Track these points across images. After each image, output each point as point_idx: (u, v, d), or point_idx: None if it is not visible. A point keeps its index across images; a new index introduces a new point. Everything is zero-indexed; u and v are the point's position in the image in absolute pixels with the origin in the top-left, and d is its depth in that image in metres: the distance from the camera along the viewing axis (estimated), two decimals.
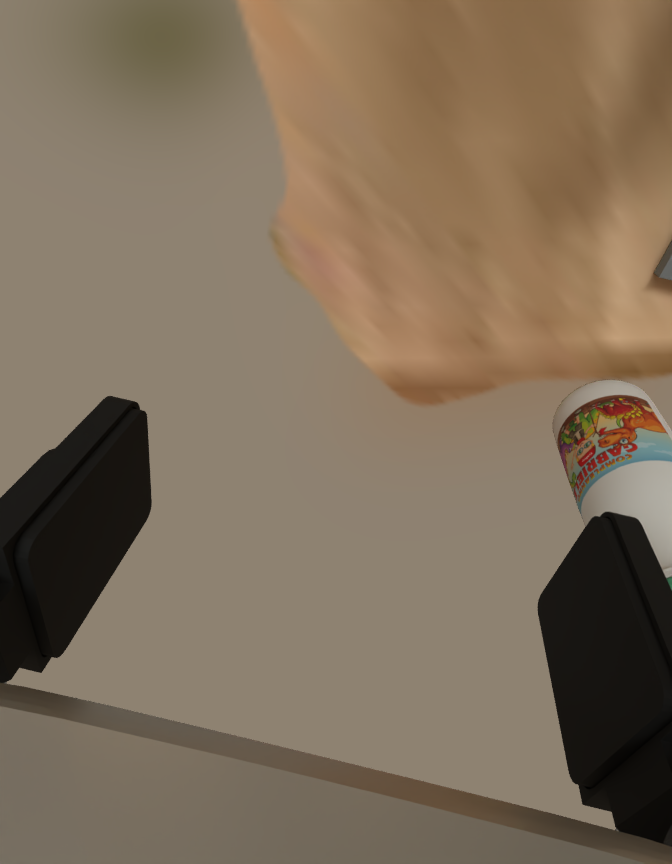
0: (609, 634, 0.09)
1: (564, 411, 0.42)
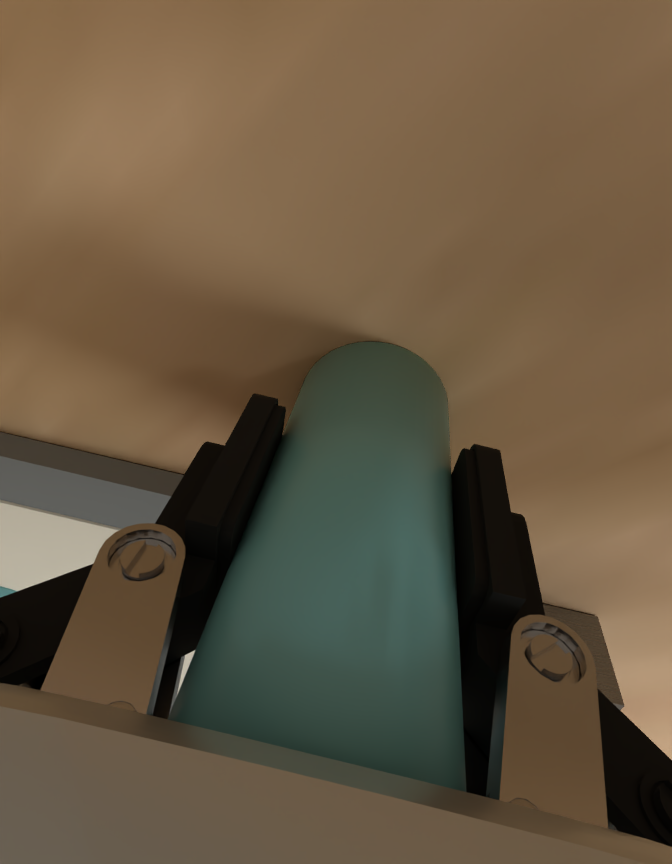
0: (457, 545, 0.10)
1: None
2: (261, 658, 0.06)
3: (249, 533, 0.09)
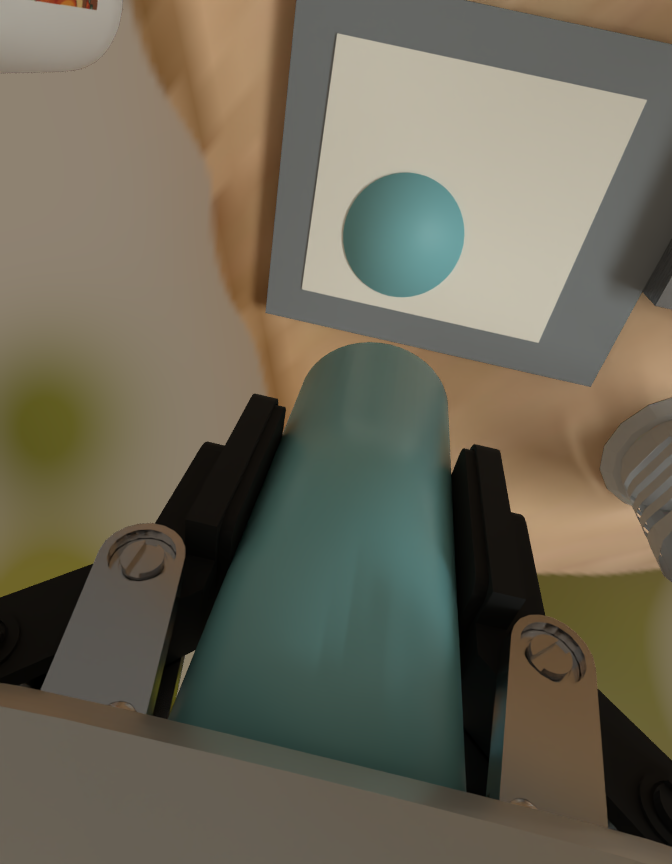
0: (457, 545, 0.10)
1: None
2: (259, 661, 0.06)
3: (248, 535, 0.09)
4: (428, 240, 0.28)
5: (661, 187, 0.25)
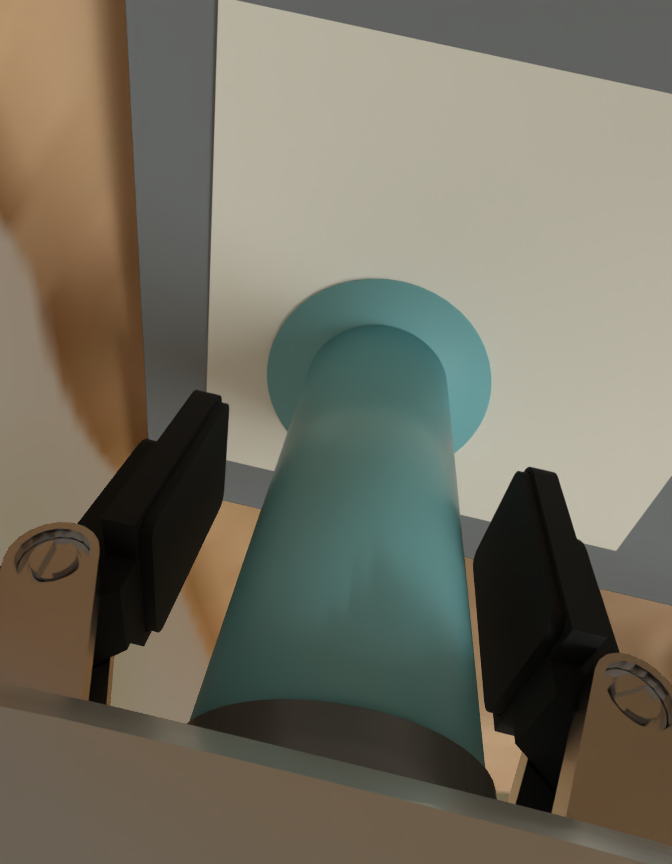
0: (519, 574, 0.09)
1: None
2: (298, 597, 0.07)
3: (273, 498, 0.09)
4: None
5: None
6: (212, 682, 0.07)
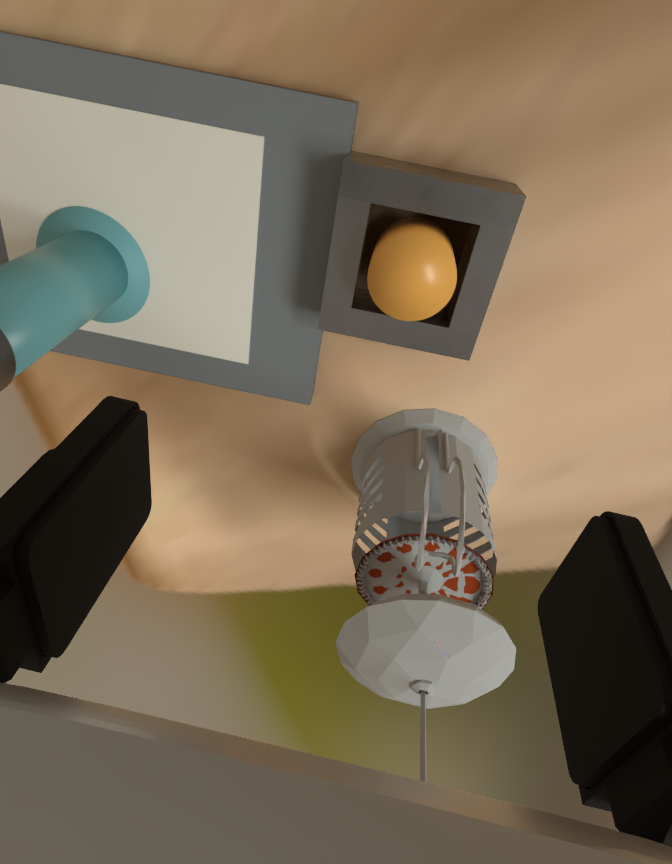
0: (609, 634, 0.09)
1: None
2: None
3: None
4: None
5: (306, 217, 0.26)
6: None
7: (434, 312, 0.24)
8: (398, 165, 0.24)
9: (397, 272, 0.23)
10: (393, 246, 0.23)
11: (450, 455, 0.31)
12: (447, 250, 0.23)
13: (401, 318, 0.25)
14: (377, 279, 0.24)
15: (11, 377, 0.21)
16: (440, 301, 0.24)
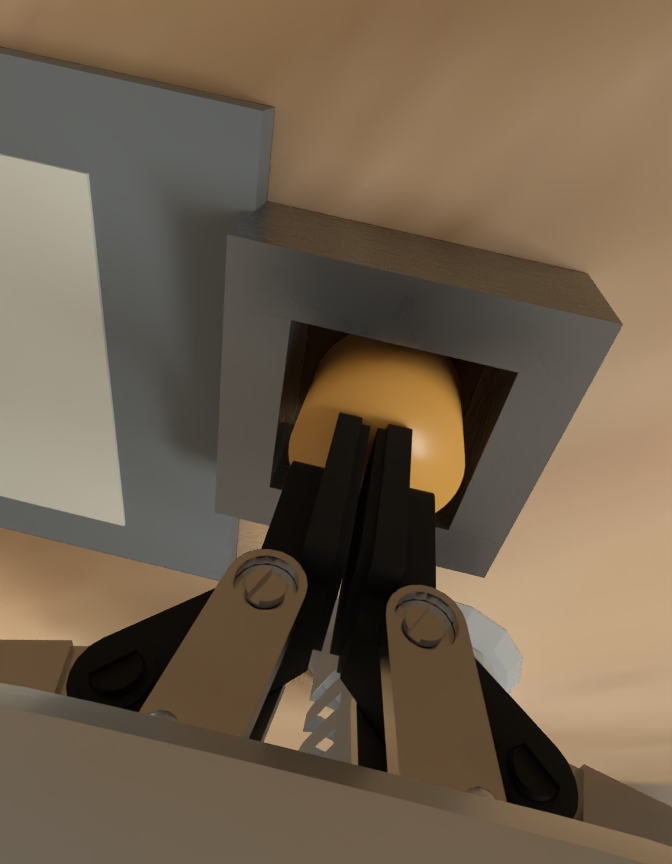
0: (360, 521, 0.10)
1: None
2: None
3: None
4: None
5: (187, 320, 0.14)
6: None
7: None
8: (351, 240, 0.11)
9: None
10: (335, 407, 0.11)
11: None
12: (446, 422, 0.11)
13: None
14: (308, 458, 0.12)
15: None
16: None
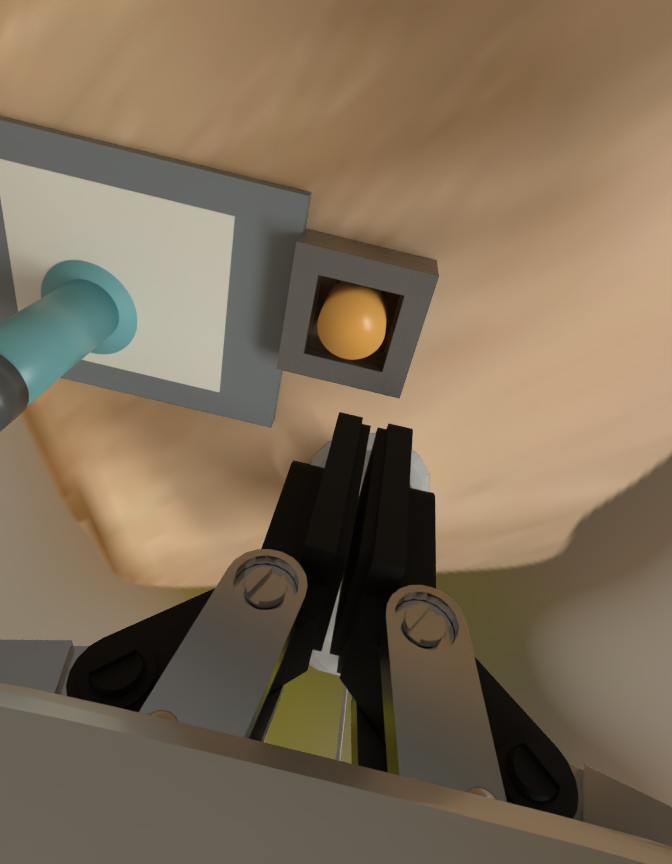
0: (360, 521, 0.10)
1: None
2: None
3: None
4: None
5: (268, 278, 0.32)
6: None
7: (369, 353, 0.31)
8: (341, 245, 0.30)
9: (340, 323, 0.30)
10: (336, 303, 0.30)
11: None
12: (377, 308, 0.30)
13: (344, 357, 0.32)
14: (325, 327, 0.31)
15: (24, 408, 0.26)
16: (373, 345, 0.31)
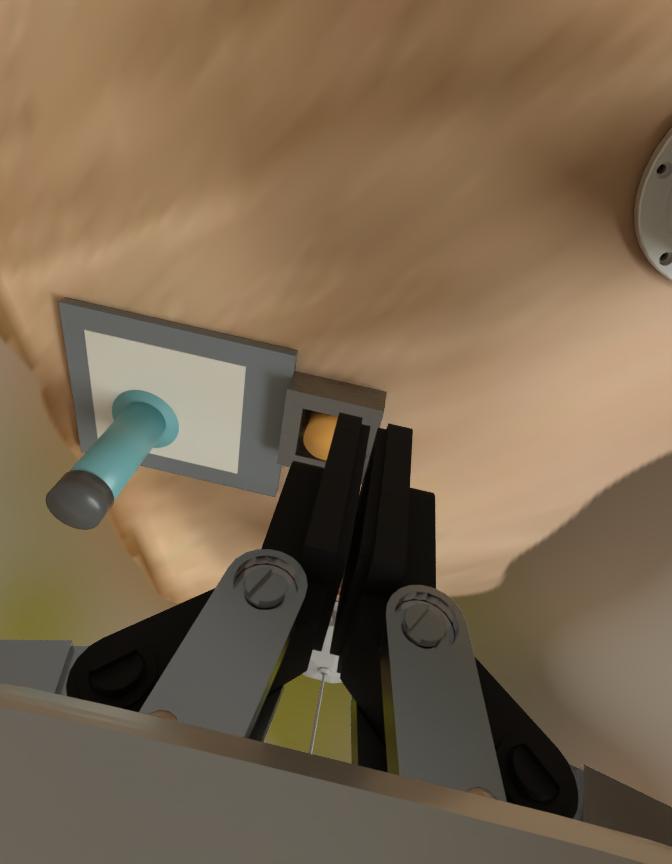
0: (360, 521, 0.10)
1: None
2: (83, 459, 0.40)
3: (91, 446, 0.43)
4: None
5: (269, 403, 0.46)
6: None
7: None
8: (318, 386, 0.43)
9: (318, 438, 0.44)
10: (315, 426, 0.43)
11: None
12: None
13: (322, 458, 0.45)
14: (308, 440, 0.44)
15: None
16: None
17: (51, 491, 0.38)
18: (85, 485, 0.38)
